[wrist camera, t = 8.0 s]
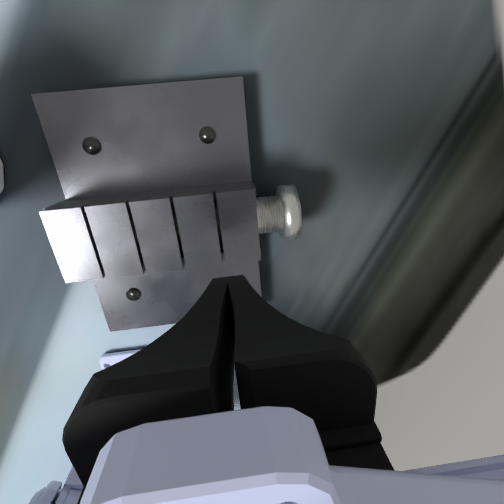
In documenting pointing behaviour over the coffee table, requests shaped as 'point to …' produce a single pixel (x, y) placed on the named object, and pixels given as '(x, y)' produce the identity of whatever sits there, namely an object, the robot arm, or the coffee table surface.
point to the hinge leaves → (151, 194)
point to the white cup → (1, 177)
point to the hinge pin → (275, 213)
